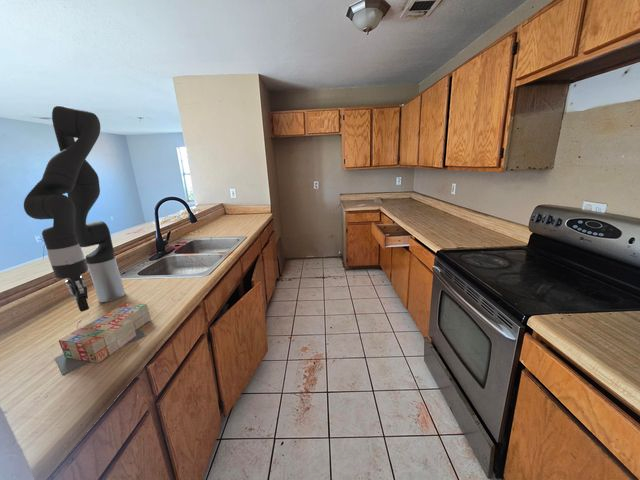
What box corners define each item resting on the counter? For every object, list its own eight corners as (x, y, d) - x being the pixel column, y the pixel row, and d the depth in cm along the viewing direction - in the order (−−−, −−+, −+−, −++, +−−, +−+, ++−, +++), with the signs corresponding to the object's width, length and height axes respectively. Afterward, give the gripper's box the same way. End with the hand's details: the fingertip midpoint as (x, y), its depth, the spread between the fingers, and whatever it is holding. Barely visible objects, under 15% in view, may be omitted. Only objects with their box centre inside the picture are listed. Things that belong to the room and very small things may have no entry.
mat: (54, 358, 76) (54, 358, 76) (133, 324, 91) (133, 324, 91) (63, 375, 69) (62, 374, 69) (146, 335, 84) (145, 334, 84)
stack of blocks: (125, 302, 93) (154, 304, 91) (130, 318, 95) (158, 320, 92) (57, 340, 73) (92, 344, 71) (64, 359, 75) (99, 363, 72)
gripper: (46, 259, 80) (64, 309, 85) (55, 268, 73) (74, 322, 77) (78, 253, 86) (93, 299, 91) (89, 260, 78) (105, 310, 83)
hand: (84, 309), depth 84 cm, fingers closed
